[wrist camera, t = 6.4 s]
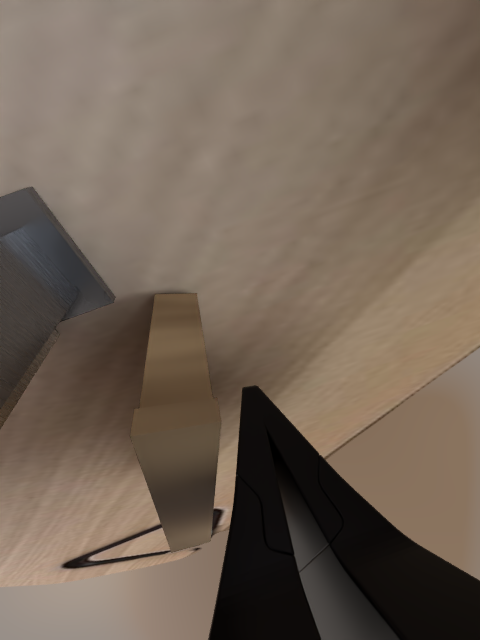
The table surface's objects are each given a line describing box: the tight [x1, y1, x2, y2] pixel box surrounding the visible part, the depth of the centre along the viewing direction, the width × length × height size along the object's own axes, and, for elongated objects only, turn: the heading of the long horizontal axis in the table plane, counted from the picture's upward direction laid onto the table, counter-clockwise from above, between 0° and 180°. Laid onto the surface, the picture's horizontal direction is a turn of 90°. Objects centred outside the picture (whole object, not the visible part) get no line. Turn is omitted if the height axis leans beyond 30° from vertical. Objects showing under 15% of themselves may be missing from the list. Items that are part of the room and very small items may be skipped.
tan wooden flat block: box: [130, 293, 221, 553], centre depth 10 cm, size 10×2×6 cm, turn 174°
